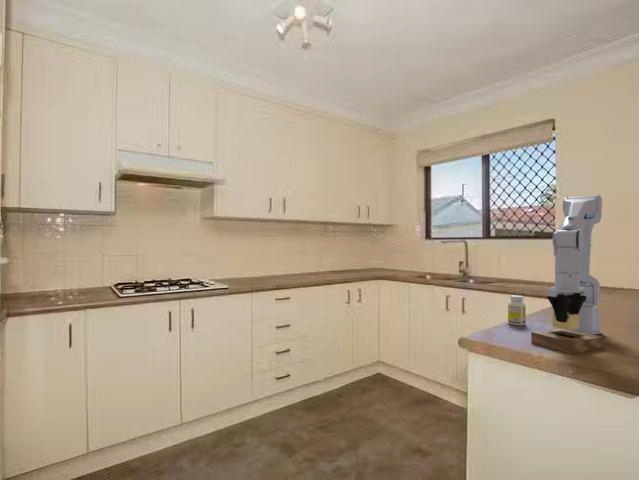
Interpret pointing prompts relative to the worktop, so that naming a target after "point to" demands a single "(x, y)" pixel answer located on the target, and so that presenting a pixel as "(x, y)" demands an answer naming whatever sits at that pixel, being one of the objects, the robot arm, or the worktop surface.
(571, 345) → the brown wooden frame
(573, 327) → the wooden block
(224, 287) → the worktop surface
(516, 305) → the supplement bottle
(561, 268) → the robot arm
